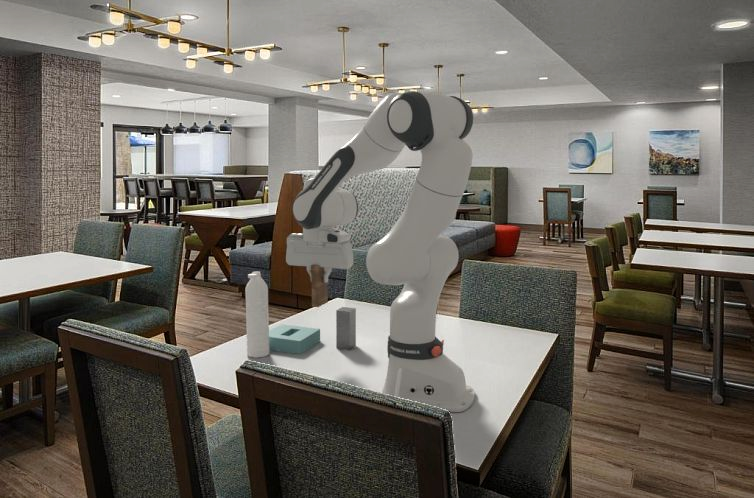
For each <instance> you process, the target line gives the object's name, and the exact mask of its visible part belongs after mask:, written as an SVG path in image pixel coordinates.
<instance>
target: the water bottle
mask: <svg viewBox="0 0 754 498" xmlns="http://www.w3.org/2000/svg"><path fill="white" fill-rule="evenodd" d="M247 279H249V281H248V282H247V284H246V286H245V288H244V289H245V290H244V291H245V312H246V314H245V319H246V322H245V324H246V325H245V326H246V331H245V332H246V355H247V356H248V357H250V358H254V359H256V358H257V359H258V358H265V357H267V356H268V355H270V351H271V350H269V331H270V327H269V326H270V325H269V324H270V323H269V287H268V285H267V283H266V282H265V280H264V279H263V278H262V274H261V271H255V270H254V271H252V272H251V273H249V274H247Z"/></svg>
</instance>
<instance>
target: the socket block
mask: <svg viewBox="0 0 754 498" xmlns="http://www.w3.org/2000/svg"><path fill="white" fill-rule="evenodd" d="M320 342H321V329H320V328H315V327H307V326H298V325H293V324H292V325H291V324H284V323H281V324H279V325H277V326H276V327H273V328H272V329H269V351H277V352H283V353H290V354H297V355H301V354H302V353H304V352H306V351H307V350H309V349H311V348H312V347H314V346H315V345H316V344H318V343H320Z"/></svg>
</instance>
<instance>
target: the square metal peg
mask: <svg viewBox="0 0 754 498" xmlns="http://www.w3.org/2000/svg"><path fill="white" fill-rule="evenodd" d="M356 311H357V308H355V307H347V306H346V307H345V306H341V307H340V308H338V309H336V312H335V317H336V319H335V321H336V323H335V324H336V326H335V327H336V328H335V329H336V336H335V337H336V339H335V341H336V349H338V350H339V349H340V350H346V351H351V350H352V349H353V348H355V347H356V346H357V345H356V344H357V343H356V341H357V340H356V339H357V334H356V332H357V331H356V330H357V329H356V326H357V321H356V319H357V312H356Z"/></svg>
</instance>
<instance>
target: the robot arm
mask: <svg viewBox="0 0 754 498" xmlns="http://www.w3.org/2000/svg"><path fill="white" fill-rule="evenodd" d="M473 124H474V114H473V111H472V108H471V106H470V104H468V102H466V101H465V100H463V99H462V98H459V97H457V96H453V95H446V94H442V93H438V92H435V91H433V92H432V91H415V90H412V91H411V90H409V91H406V92H405V91H404V92H392V93H388V94H387V95H386V96H385V97H384V98H383V99H382V100H381V101H380V102H379V103H378V104H377V105H376V107H375V108H374V110H373V111H372V112H371V113H370V115H369V116H368V117H367V119H366V121H365V122H364V123H363V126H362V127H361V128H360V130H359V131H358V132H357V133H356V134H355V135H354V136H353V137H352V139H350V140H349V141H348V142H347V143H346V144H344V145H343V146H342V147H341V148H339V149H338V150H337V151H336V152H334V153H333V155H332V156H331V157H330V158H329V159H328V160H327V162H326V163H325V165H324V166H323V167H322V168H321V169H320V171H319V172H318V173H317V174H316V176H315V177H312V178H308V179H307V180H305V181H304V184H303V189H302V190H300V192H299V193H298V194H297V195H296V197H295V198H294V200H293V202H292V208H291V209H292V211H291V213H292V216H293V218H294V220H295V221H296V222H297V224H298V225H300V226H301V227H302V233H295V232H294V233H290V234H289V235H288V236H287V237H286V246H287V247H286V251H285V252H286V254H285V262H286V264H287V265H288V266H294V267H295V266H297V267H306V272H307V273H308V275H309V277H310V281H311V265H319V266H320V267H324V271H326V273H325V275H324V276H322V277H321V282H322V283H327V284H328V283H329V276H330V275H331V273H332V271H333V269H338V270H339V269H341V270H348V269H350V268H352V266H353V265H354V252H353V246H352V244H351V243H350V240H351V234H350V233H348V232H347V231H343V230H340V229H338V228H336V227H335V226H344V225H345V226H346V225H348V224H351V223H353V222H354V221H355V220H356V218H357V216H358V213H359V201H358V199H357V197H356V196H355V194H354V193H353V192H352V191H350V190H347V189H344V188H341V185H343V183H344V182H346V181H347V180H349V179H351V178H353V177H356V176H358V175H363V174H366V173H371V172H372V173H373V172H375V171H381V170H383V169H385V168H387V167H388V166H390V165H391V164H392V163H393V162H394V161H395V160H396V159H397V158H398V157H399V155H400V154H401V152H402V151H403V149H404V148H405V146H406V147H407V148H408V149H409V150H410V151H412V152H418V151H420V154H421V162H420V163H421V164H420V167H419V170H418V172H417V175H416V178H415V181H414V184H413V187H412V189H411V193H410V195H409V198H408V201H407V203H406V206H405V208H404V210H403V212H402V213H401V215H400V216H399V218H398V220H397V221H396V222H395V223H394V225H393V226H392V227H391V229H389V231H388V232H387V233H386V234H385V235H384V236H383V237H382V238H381V239H380V240H378V241H377V242H375V243H374V244H373V245H371V246H370V247H369V249H368V252H367V254H366V257H365V258H366V260H365V264H366V265H365V266H366V269H367V270H366V271H367V273H368V274H369V276H370V278H371V279H372V280H373V281H374V282H375V283H377V284H379V285H387V286H401V285H403V287H402V290H401V292H400V293H399V295H397V297H396V298H395V299H394V300H393V301H392V303H391V305H390V310H389V313H390V314H389V335H388V338H387V346H386V347H387V349H386V350H387V359H388V365H387V370H386V378H385V382H384V386H383V388H382V394H383V393H385V394H389V395H392V396H396V397H400V398H404V399H409V400H412V401H417V402H420V403H425V404H428V405H431V406H436V407H439V408H442V409H446V410H448V411H447V412H449V411H450V412H451V413H462V412H464V411H466V410H468V409H469V408H470V407H471V406H472V405H473V403H474V401H475V399H476V395H475V392H476V391H475V389H474V388H473V387H472V386H471V385H467V384H466V382H467V381H466V376H465V373H464V371H463V369H462V368H461V367H460V366H459V365H458V364H457V363H455V362H454V361H453V360H451V359H450V358H449V357H448V356H447V355H446V354H445V353H444V345H445V343H444V342H445V341H444V340H445V339H442V340H440V339H438V337H436V325H437V323H436V321H437V309H438V304H439V301H440V300H439V299H440V297H441V293H442V291H443V288H444V285H445V283H446V281H447V279H448V277H449V276H450V275H451V274H452V272H453V271H454V270H456V267H457V266H458V262H459V257H460V256H459V249H458V247H457V245H456V243H455V242H454V240H453V239H452V238H450V237H448V236H445V235H441V234H443V233H444V232H446V230H448V229H449V228H450V226H451V225H452V223H453V222H454V219H455V217H456V214H457V211H458V209H459V206H460V204H461V201H462V198H463V195H464V192H465V190H466V188H467V184H468V180H469V177H470V173H471V168H472V163H473V155H474V154H473V150H472V147H471V146H470V145H469V144H468V143H467V141H465V140H464V139H465V138H466V137H467V136H468V135H469V134H470V133H471V130H472V128H473Z"/></svg>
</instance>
